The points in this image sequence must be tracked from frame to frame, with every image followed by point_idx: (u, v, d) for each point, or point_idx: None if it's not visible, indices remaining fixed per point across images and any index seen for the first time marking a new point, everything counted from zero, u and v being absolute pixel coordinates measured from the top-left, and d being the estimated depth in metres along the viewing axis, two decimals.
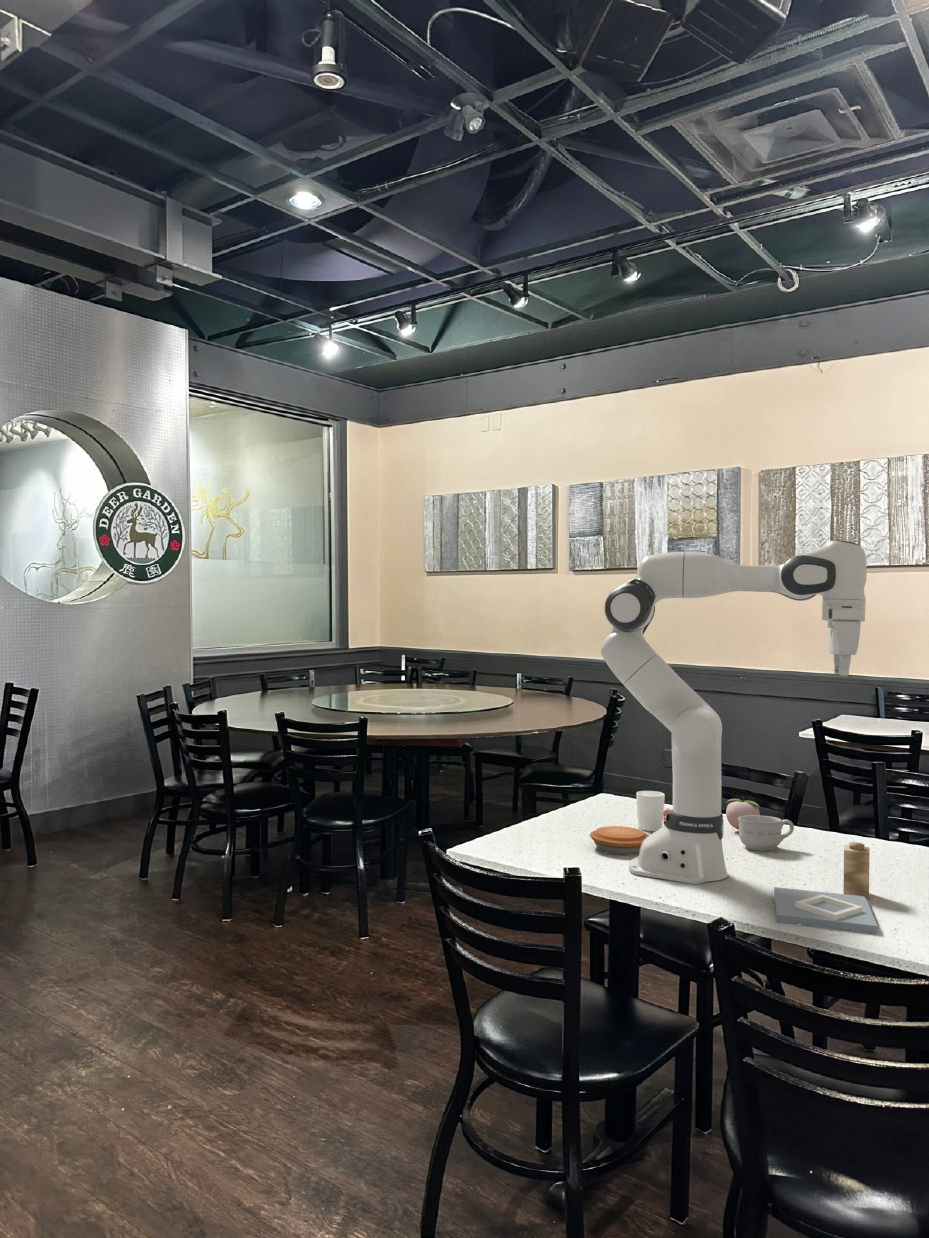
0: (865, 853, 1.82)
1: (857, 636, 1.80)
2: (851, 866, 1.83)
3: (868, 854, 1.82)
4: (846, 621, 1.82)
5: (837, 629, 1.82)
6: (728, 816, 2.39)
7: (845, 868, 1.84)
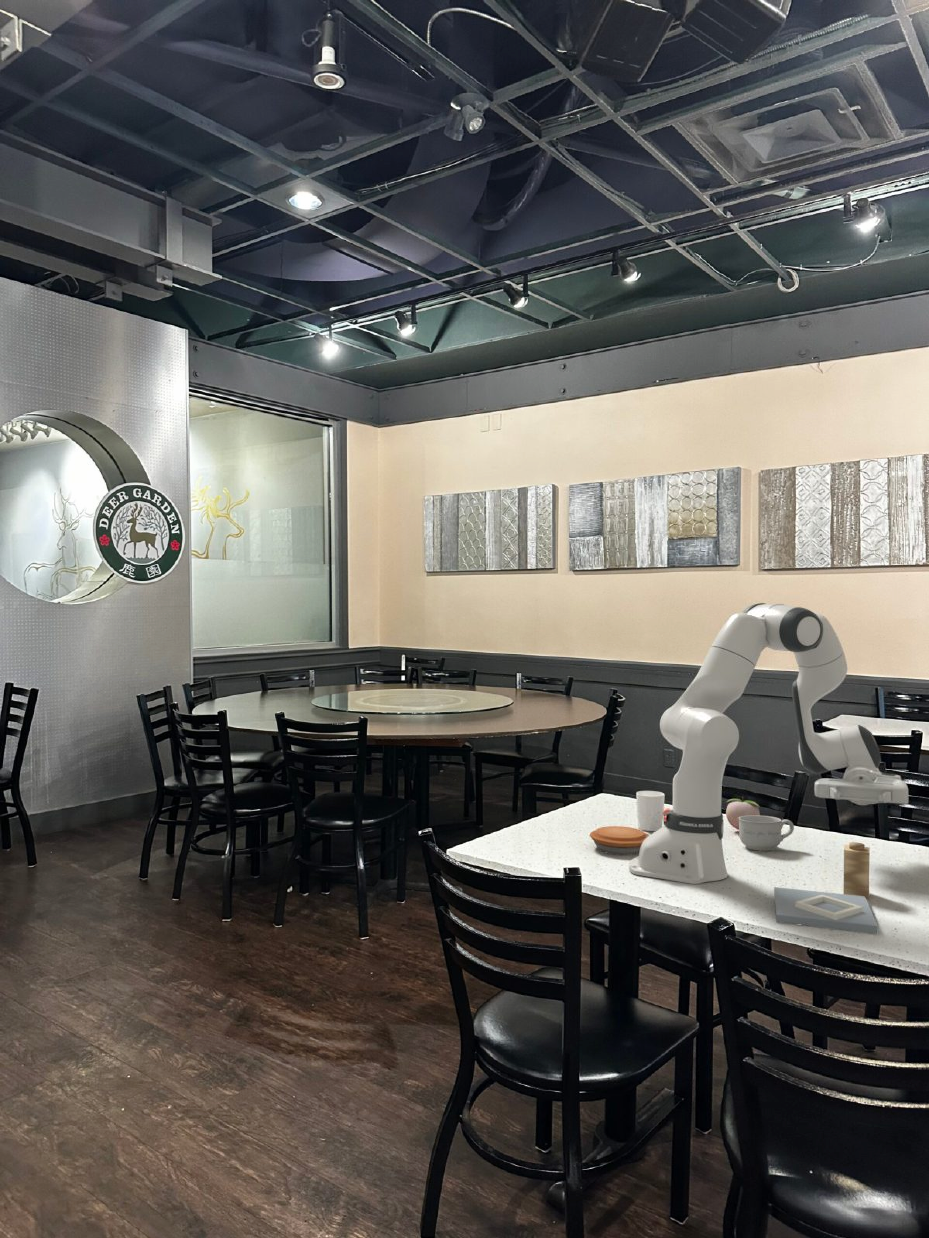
0: (865, 853, 1.82)
1: None
2: (851, 866, 1.83)
3: (868, 854, 1.82)
4: None
5: (904, 782, 2.01)
6: (728, 816, 2.39)
7: (845, 868, 1.84)
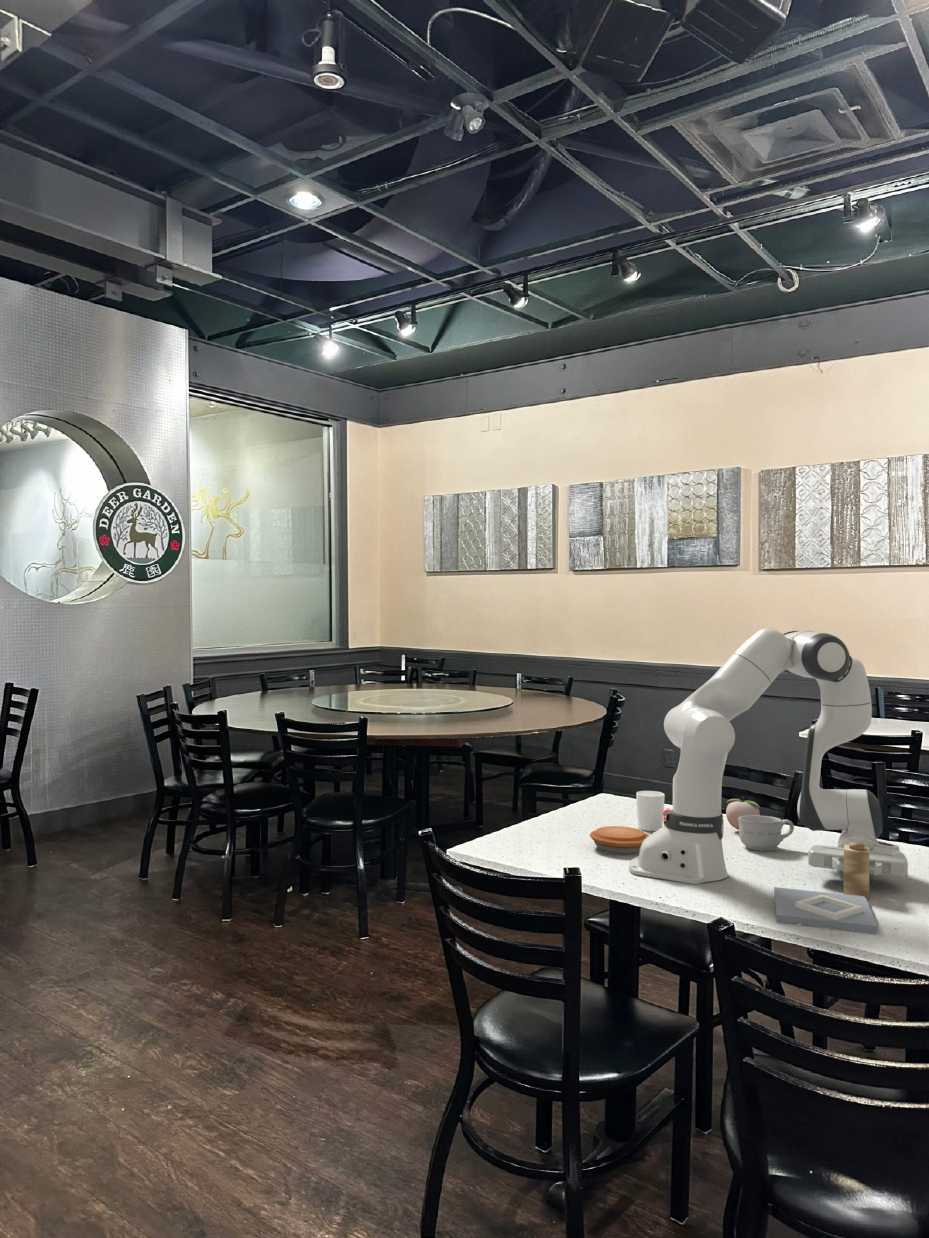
0: (865, 853, 1.82)
1: None
2: (851, 865, 1.83)
3: (868, 854, 1.82)
4: None
5: (903, 854, 1.89)
6: (728, 816, 2.39)
7: (845, 868, 1.84)
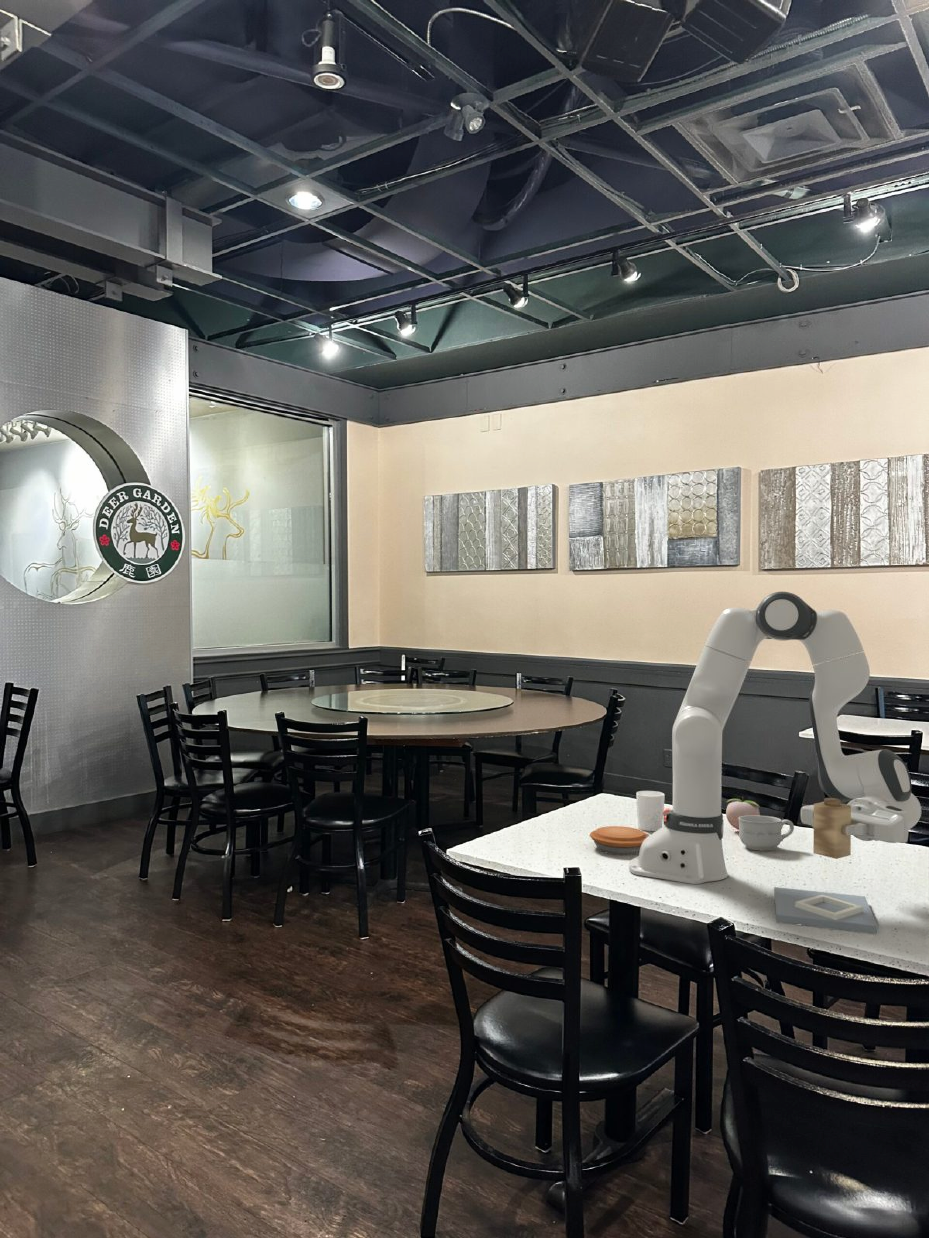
0: (833, 808, 1.69)
1: (900, 840, 1.68)
2: (820, 821, 1.71)
3: (835, 809, 1.68)
4: None
5: (902, 819, 1.69)
6: (728, 816, 2.39)
7: (815, 823, 1.72)
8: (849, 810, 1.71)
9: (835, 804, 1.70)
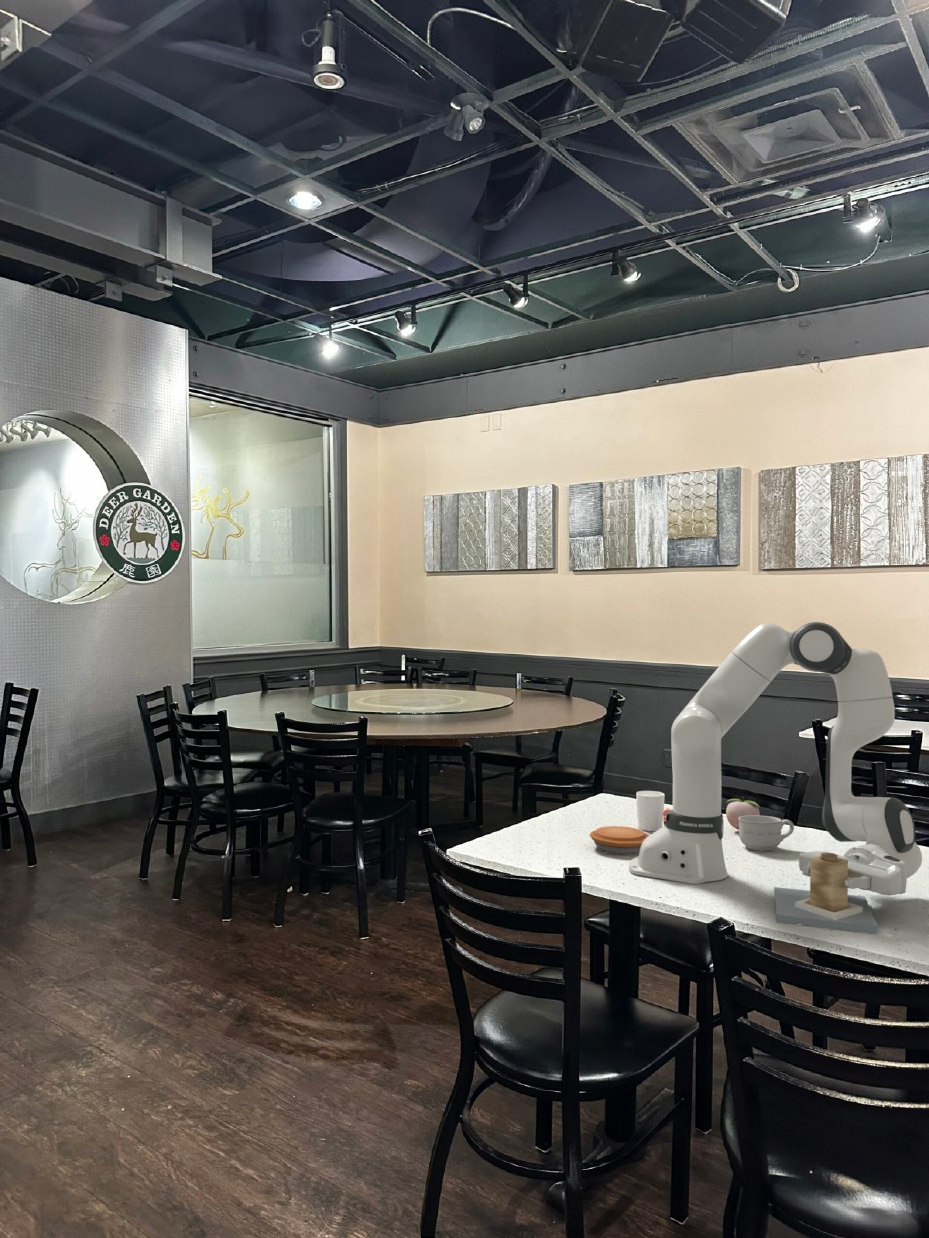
0: (829, 864, 1.68)
1: (897, 892, 1.67)
2: (817, 876, 1.70)
3: (832, 866, 1.68)
4: None
5: (899, 871, 1.68)
6: (728, 816, 2.39)
7: (811, 878, 1.71)
8: (846, 865, 1.70)
9: (832, 859, 1.69)
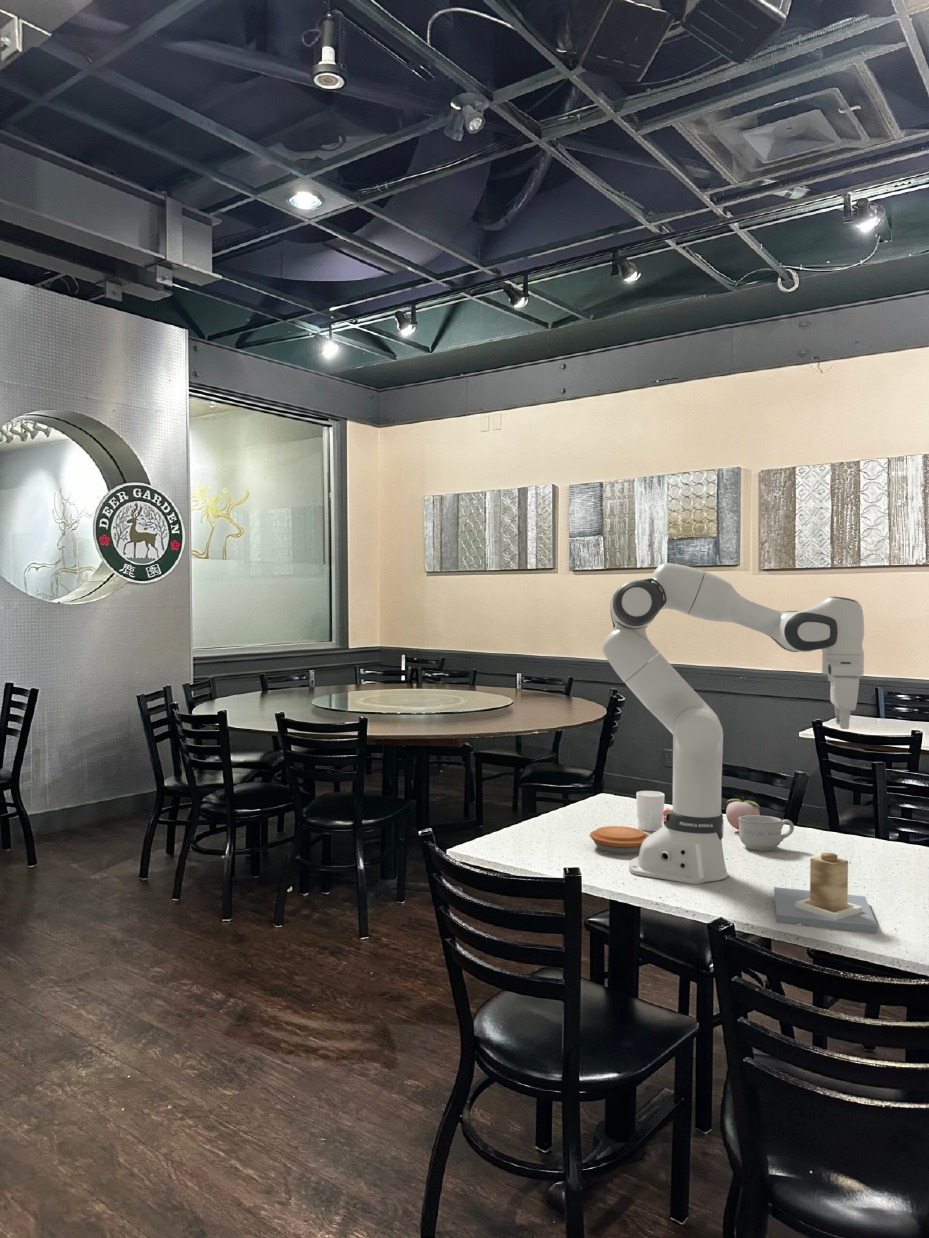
0: (829, 864, 1.68)
1: (856, 692, 1.88)
2: (817, 876, 1.70)
3: (832, 866, 1.68)
4: (845, 677, 1.90)
5: (836, 685, 1.89)
6: (728, 816, 2.39)
7: (811, 878, 1.71)
8: (846, 865, 1.70)
9: (832, 859, 1.69)
